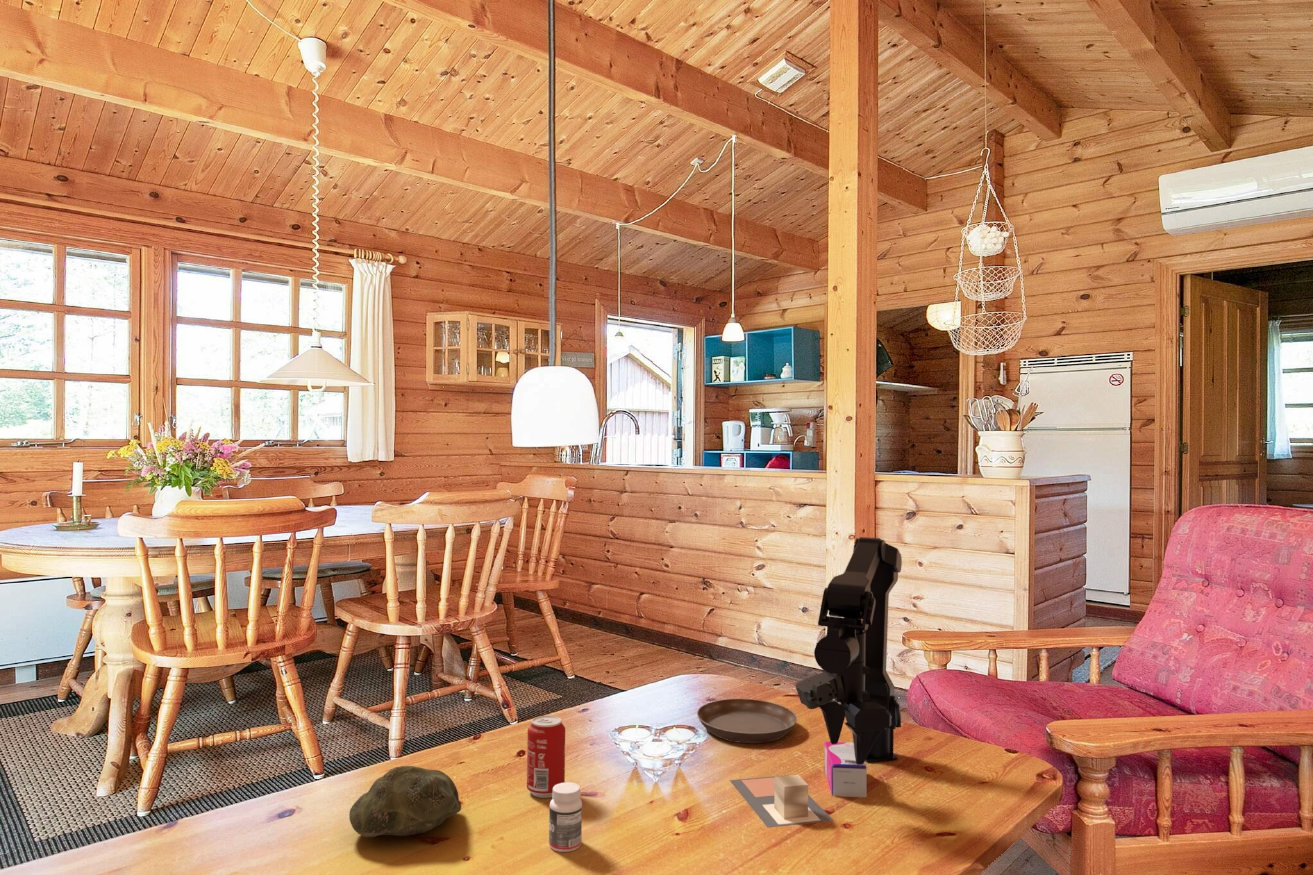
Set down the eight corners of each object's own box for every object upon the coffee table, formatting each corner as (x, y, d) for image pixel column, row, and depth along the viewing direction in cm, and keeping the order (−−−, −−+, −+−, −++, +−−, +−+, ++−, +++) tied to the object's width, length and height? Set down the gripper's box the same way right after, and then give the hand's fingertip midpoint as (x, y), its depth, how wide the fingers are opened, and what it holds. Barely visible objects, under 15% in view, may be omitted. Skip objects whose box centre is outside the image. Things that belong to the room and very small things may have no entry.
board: (788, 778, 144) (788, 774, 144) (834, 824, 126) (834, 820, 126) (729, 783, 141) (729, 779, 141) (767, 831, 124) (767, 827, 124)
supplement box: (867, 802, 135) (856, 773, 147) (867, 766, 135) (857, 740, 146) (831, 800, 136) (824, 771, 147) (831, 765, 136) (824, 739, 147)
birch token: (797, 805, 132) (797, 774, 132) (807, 816, 128) (808, 784, 128) (774, 807, 131) (774, 776, 131) (783, 819, 127) (784, 786, 127)
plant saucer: (804, 749, 159) (804, 732, 159) (698, 747, 159) (698, 729, 159) (788, 714, 180) (788, 699, 180) (695, 712, 180) (695, 697, 180)
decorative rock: (375, 817, 130) (374, 752, 132) (472, 812, 130) (471, 747, 131) (335, 853, 116) (334, 779, 117) (445, 848, 115) (443, 774, 116)
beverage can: (571, 788, 138) (572, 717, 139) (551, 802, 133) (552, 728, 133) (539, 781, 141) (541, 712, 141) (519, 795, 135) (520, 722, 136)
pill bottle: (549, 837, 121) (550, 780, 121) (581, 836, 121) (582, 780, 121) (548, 853, 116) (549, 794, 116) (581, 852, 117) (582, 793, 117)
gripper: (780, 647, 142) (779, 737, 142) (827, 676, 124) (826, 779, 124) (839, 644, 145) (838, 733, 144) (893, 673, 127) (892, 774, 126)
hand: (846, 753), depth 135 cm, fingers open, 9 cm apart
